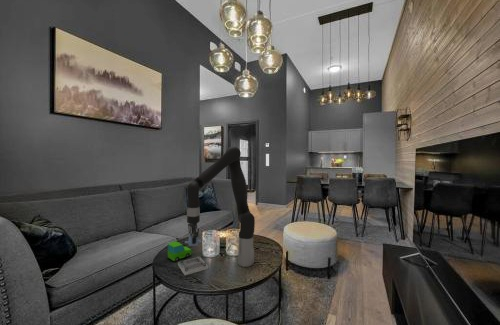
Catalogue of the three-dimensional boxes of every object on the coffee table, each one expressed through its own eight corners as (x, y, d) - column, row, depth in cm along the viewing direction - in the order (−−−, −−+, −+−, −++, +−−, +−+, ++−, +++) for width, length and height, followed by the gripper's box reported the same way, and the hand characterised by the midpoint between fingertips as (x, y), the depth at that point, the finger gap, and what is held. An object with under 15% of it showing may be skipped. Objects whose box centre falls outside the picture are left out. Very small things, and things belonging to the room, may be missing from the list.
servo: (199, 243, 135) (200, 234, 135) (201, 245, 132) (202, 236, 132) (183, 244, 129) (185, 235, 130) (185, 246, 126) (186, 237, 127)
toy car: (192, 256, 145) (193, 242, 145) (174, 263, 135) (174, 247, 135) (184, 252, 152) (185, 238, 152) (166, 258, 142) (167, 243, 142)
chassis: (199, 259, 141) (199, 254, 141) (207, 268, 129) (207, 263, 129) (177, 265, 133) (178, 259, 133) (184, 275, 121) (184, 269, 121)
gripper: (203, 216, 127) (203, 245, 127) (195, 211, 138) (195, 237, 139) (191, 218, 123) (190, 247, 123) (183, 212, 134) (183, 239, 135)
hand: (193, 242), depth 131 cm, fingers closed on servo, 3 cm apart
